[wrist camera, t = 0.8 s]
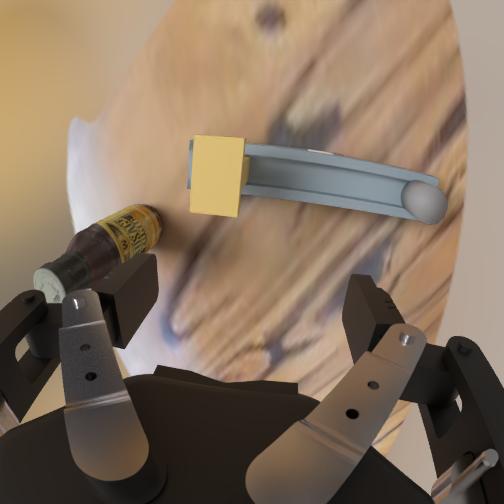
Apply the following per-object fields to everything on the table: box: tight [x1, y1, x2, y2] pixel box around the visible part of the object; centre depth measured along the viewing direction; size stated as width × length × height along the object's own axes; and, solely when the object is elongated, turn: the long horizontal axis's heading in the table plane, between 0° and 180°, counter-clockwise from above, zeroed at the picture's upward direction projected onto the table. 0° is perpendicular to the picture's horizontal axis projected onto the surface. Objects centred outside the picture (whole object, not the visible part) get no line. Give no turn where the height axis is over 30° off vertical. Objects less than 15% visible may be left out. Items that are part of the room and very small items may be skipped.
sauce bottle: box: [33, 204, 162, 303], centre depth 30 cm, size 6×6×20 cm
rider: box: [190, 135, 251, 217], centre depth 27 cm, size 4×6×7 cm, turn 174°
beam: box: [187, 140, 447, 225], centre depth 30 cm, size 26×5×10 cm, turn 84°
